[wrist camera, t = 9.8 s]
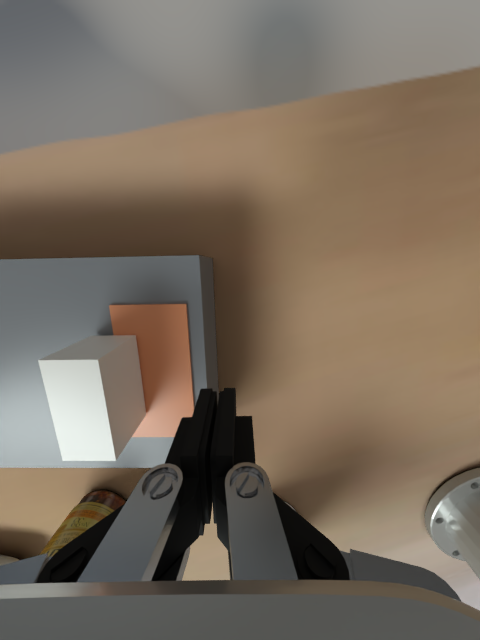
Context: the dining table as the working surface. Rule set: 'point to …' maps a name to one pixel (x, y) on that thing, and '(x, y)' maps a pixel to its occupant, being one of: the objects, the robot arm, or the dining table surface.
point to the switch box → (101, 320)
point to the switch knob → (94, 396)
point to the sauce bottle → (83, 518)
